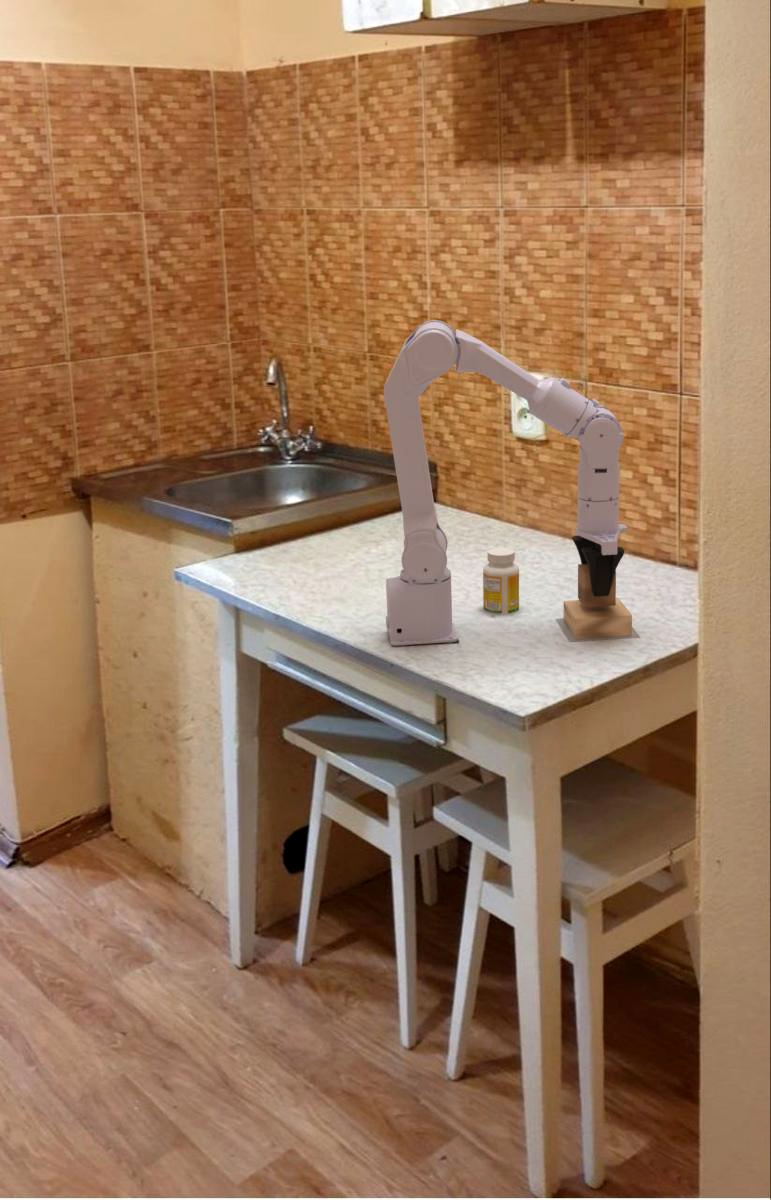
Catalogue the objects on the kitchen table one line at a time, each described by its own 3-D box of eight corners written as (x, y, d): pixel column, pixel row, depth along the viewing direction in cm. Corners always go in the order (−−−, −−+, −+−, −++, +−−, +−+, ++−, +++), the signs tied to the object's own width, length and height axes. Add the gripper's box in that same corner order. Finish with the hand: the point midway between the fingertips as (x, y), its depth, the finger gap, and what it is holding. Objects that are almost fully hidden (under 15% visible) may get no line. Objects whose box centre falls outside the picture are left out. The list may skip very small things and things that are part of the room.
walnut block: (584, 607, 181) (584, 573, 180) (577, 597, 185) (578, 564, 184) (615, 605, 181) (616, 571, 180) (608, 596, 186) (608, 562, 184)
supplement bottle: (487, 619, 192) (485, 557, 189) (480, 608, 197) (479, 547, 194) (522, 617, 192) (522, 555, 189) (515, 606, 197) (514, 545, 194)
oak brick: (575, 639, 181) (575, 618, 180) (563, 620, 188) (563, 600, 187) (631, 635, 181) (632, 615, 180) (617, 617, 189) (618, 597, 188)
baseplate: (569, 645, 180) (569, 641, 180) (555, 622, 189) (555, 618, 189) (640, 641, 180) (640, 637, 180) (622, 618, 190) (622, 614, 190)
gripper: (640, 507, 172) (638, 604, 176) (614, 483, 186) (613, 573, 190) (588, 510, 172) (587, 607, 176) (565, 486, 185) (565, 576, 190)
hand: (597, 590), depth 183 cm, fingers closed on walnut block, 4 cm apart
